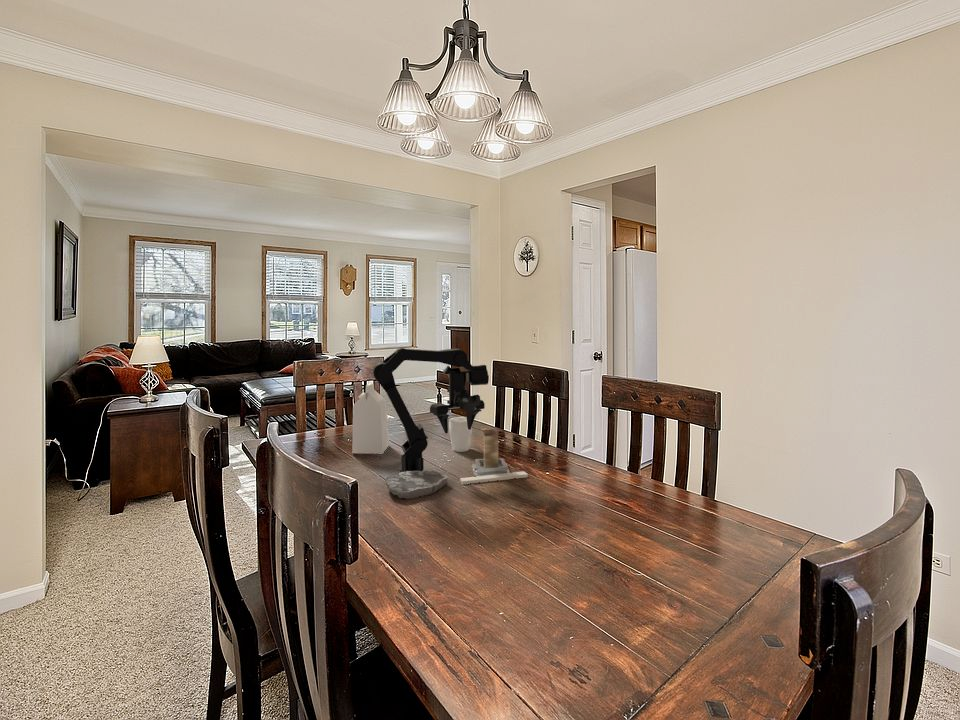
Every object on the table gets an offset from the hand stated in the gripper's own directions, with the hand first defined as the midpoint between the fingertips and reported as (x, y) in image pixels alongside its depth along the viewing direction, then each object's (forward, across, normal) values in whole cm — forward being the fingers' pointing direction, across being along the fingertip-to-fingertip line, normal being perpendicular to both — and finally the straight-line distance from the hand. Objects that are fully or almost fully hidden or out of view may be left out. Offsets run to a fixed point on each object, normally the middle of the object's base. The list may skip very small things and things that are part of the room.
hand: (458, 431), depth 167 cm
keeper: (+13, +8, -8) cm, 17 cm away
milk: (+13, -16, +38) cm, 43 cm away
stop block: (+12, +8, -8) cm, 17 cm away
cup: (+13, +13, +19) cm, 27 cm away
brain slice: (+14, -21, -8) cm, 26 cm away
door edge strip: (+13, +4, -15) cm, 21 cm away
